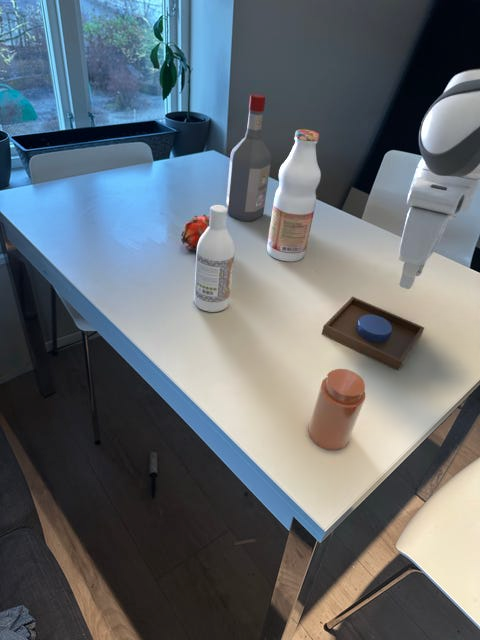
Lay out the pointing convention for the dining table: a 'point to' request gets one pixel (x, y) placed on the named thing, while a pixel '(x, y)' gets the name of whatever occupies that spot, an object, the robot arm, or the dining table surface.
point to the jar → (337, 409)
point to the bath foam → (214, 263)
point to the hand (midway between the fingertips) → (410, 280)
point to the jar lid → (374, 328)
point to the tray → (386, 352)
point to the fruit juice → (295, 199)
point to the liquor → (249, 168)
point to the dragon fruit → (194, 231)
